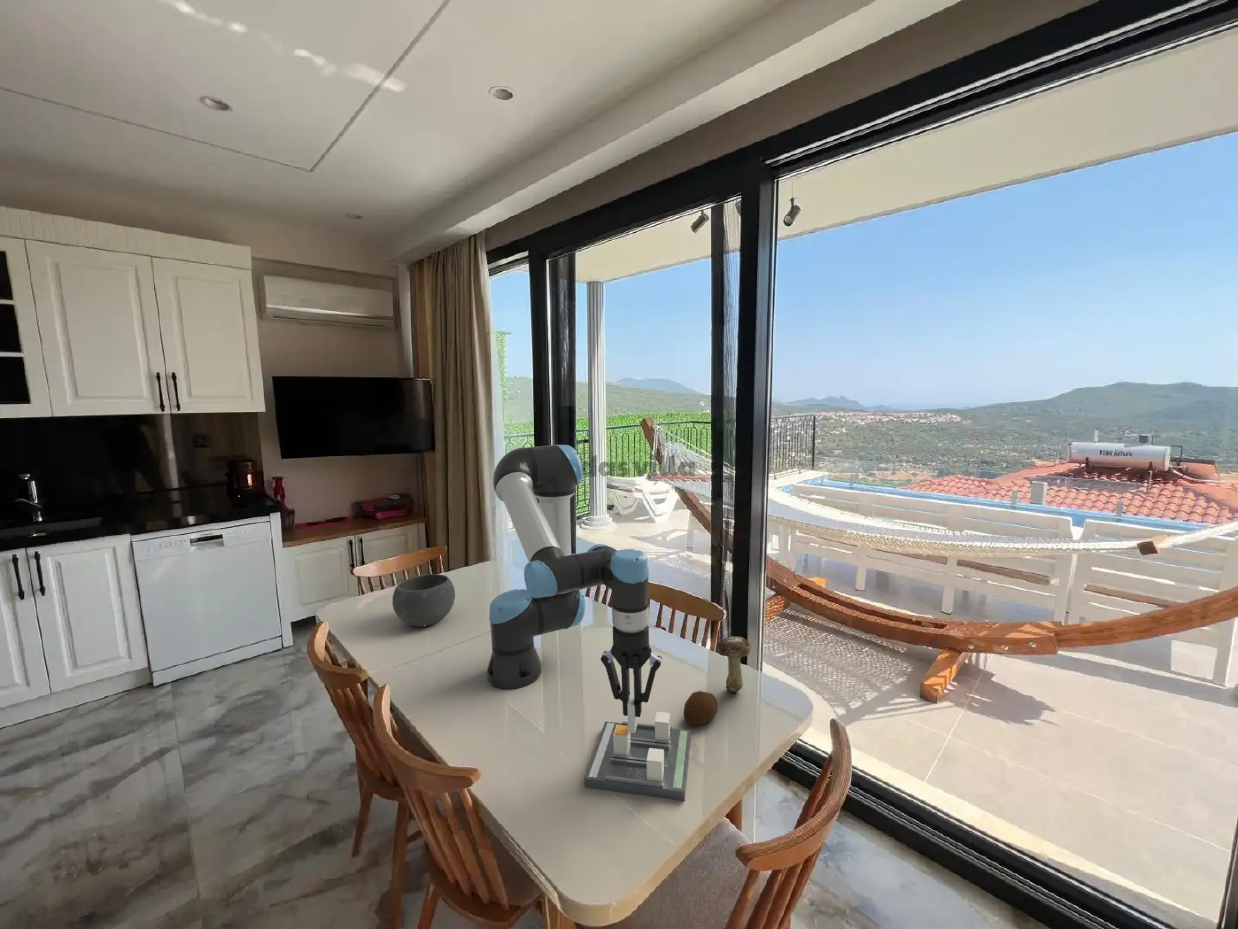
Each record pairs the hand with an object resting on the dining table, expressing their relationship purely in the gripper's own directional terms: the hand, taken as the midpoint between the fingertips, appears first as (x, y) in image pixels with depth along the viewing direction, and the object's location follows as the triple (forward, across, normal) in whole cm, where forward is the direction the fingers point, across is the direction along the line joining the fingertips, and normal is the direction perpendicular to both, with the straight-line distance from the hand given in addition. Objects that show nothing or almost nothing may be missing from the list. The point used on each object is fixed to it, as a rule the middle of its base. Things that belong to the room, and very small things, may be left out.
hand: (632, 728), depth 108 cm
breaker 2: (+5, +6, -6) cm, 10 cm away
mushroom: (+8, +22, +29) cm, 37 cm away
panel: (+7, +2, 0) cm, 8 cm away
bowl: (+9, -84, +55) cm, 101 cm away
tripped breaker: (+5, -2, 0) cm, 6 cm away
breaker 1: (+5, +6, +6) cm, 10 cm away
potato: (+8, +14, +16) cm, 23 cm away
